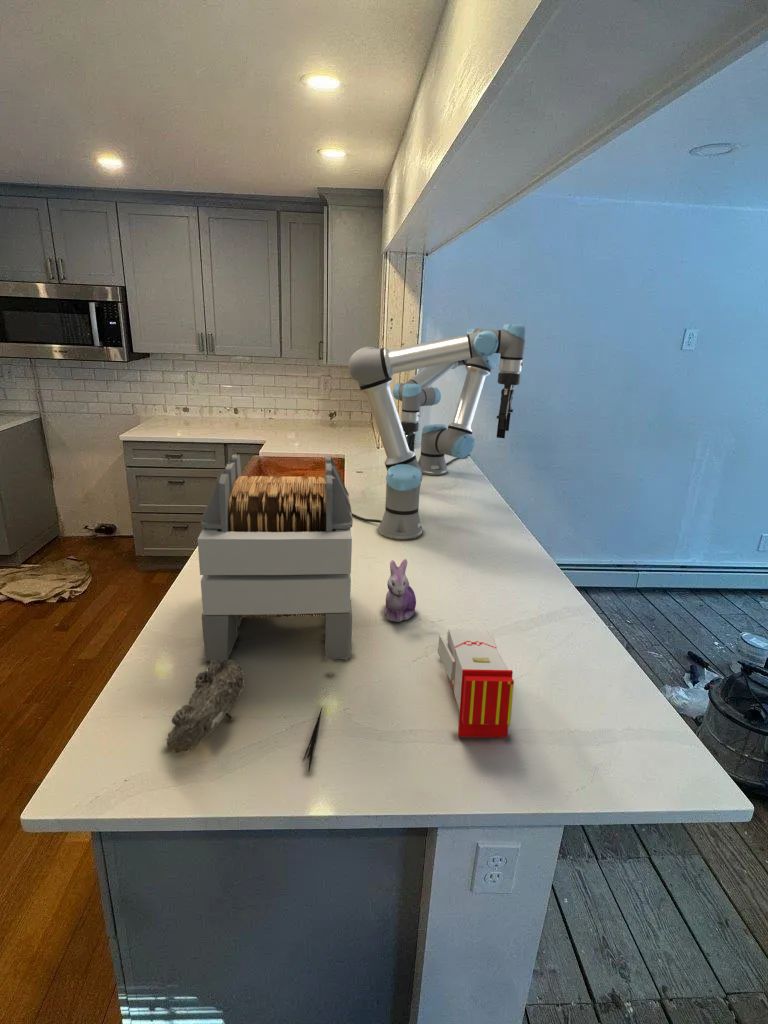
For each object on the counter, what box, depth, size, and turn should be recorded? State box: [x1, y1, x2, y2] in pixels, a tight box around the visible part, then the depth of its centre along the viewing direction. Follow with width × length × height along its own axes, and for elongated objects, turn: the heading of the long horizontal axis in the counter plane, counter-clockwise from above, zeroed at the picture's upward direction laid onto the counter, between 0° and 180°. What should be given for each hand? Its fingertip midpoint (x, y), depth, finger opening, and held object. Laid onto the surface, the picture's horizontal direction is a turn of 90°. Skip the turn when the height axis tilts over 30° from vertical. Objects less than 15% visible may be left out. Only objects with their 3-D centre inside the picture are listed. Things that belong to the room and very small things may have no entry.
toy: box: [437, 628, 515, 738], centre depth 117 cm, size 12×13×30 cm
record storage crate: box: [197, 454, 354, 663], centre depth 134 cm, size 34×33×41 cm
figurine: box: [384, 558, 417, 623], centre depth 145 cm, size 9×10×15 cm
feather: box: [301, 673, 332, 771], centre depth 108 cm, size 2×28×2 cm
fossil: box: [166, 658, 245, 754], centre depth 106 cm, size 22×10×15 cm
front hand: (502, 434), depth 199 cm, fingers open, 13 cm apart
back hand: (406, 474), depth 246 cm, fingers closed on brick, 5 cm apart
